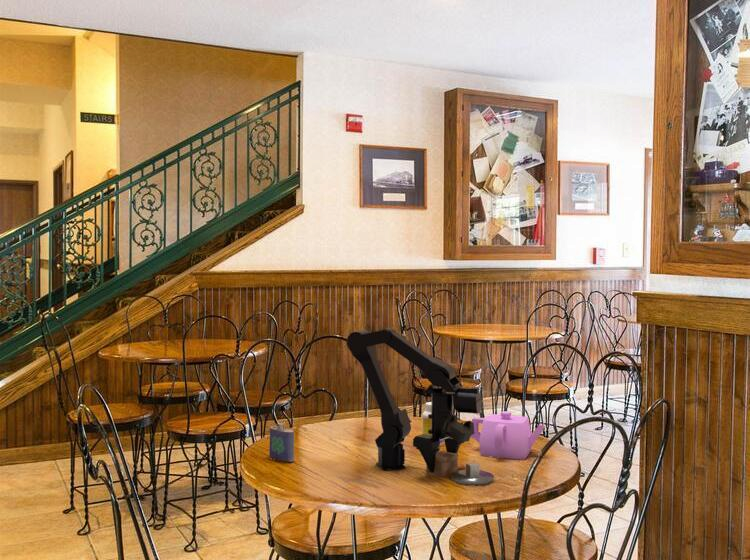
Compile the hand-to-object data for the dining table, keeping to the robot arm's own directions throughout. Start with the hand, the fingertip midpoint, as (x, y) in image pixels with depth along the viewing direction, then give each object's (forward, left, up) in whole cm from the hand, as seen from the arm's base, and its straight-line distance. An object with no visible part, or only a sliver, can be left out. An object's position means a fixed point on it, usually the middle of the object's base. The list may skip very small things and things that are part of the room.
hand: (441, 468), depth 196 cm
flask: (-38, +27, -1) cm, 47 cm away
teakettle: (+27, +12, -2) cm, 30 cm away
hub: (+5, -8, -1) cm, 10 cm away
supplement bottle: (+10, +28, -1) cm, 30 cm away
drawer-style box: (0, 0, -1) cm, 1 cm away
